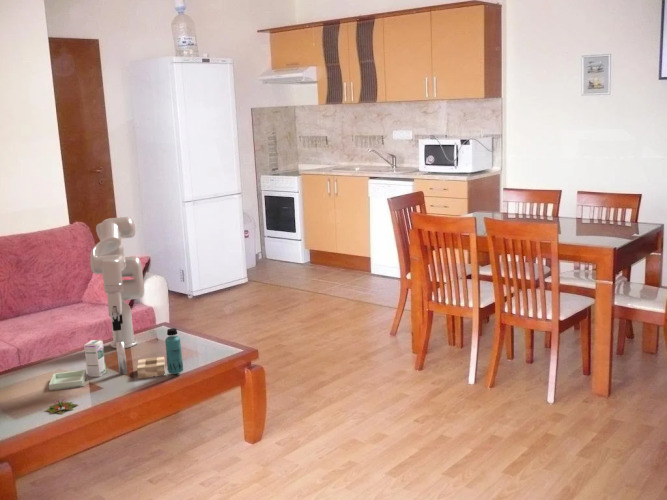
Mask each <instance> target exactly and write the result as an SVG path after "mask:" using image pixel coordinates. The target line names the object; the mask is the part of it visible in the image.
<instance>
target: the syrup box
mask: <svg viewBox="0 0 667 500" xmlns="http://www.w3.org/2000/svg"><path fill="white" fill-rule="evenodd" d="M83 347H84V355H85V362H86V371H87V375H88V377H94V378H95V377H98V378H99V377H102V376H103V375H104V374H105V373H107V371H108V370H107V363H106V356H105V349H104V342H103V340H101V339H94V340H93V339H91V340H90V341H88V342H87V343H85V344H84V345H83Z"/></svg>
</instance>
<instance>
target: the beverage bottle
mask: <svg viewBox="0 0 667 500" xmlns="http://www.w3.org/2000/svg"><path fill="white" fill-rule="evenodd" d="M166 334H167V337H166V338H165V340H164V341H165V350H166V351H165V353H166V354H165V355H166V366H167V367H166V368H167V372H168V373H169V374H173V375H175V374H179V373H182V372H183V370H184V365H183V364H184V362H183V356H182V355H183V354H182V346H181V345H182V344H181V338H180V336H178V335H177V334H178V330H177V328H168V329H167V333H166Z"/></svg>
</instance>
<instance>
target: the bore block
mask: <svg viewBox="0 0 667 500" xmlns="http://www.w3.org/2000/svg"><path fill="white" fill-rule="evenodd" d="M136 367H137V368H136V369H137V379H146V378H154V377H153V376H155V377H159V376H158V375H163V376H165V375H166V360H165V356H159V357H158V356H157V357H149V358H139V359H138V361H137V366H136ZM164 374H165V375H164Z"/></svg>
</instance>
